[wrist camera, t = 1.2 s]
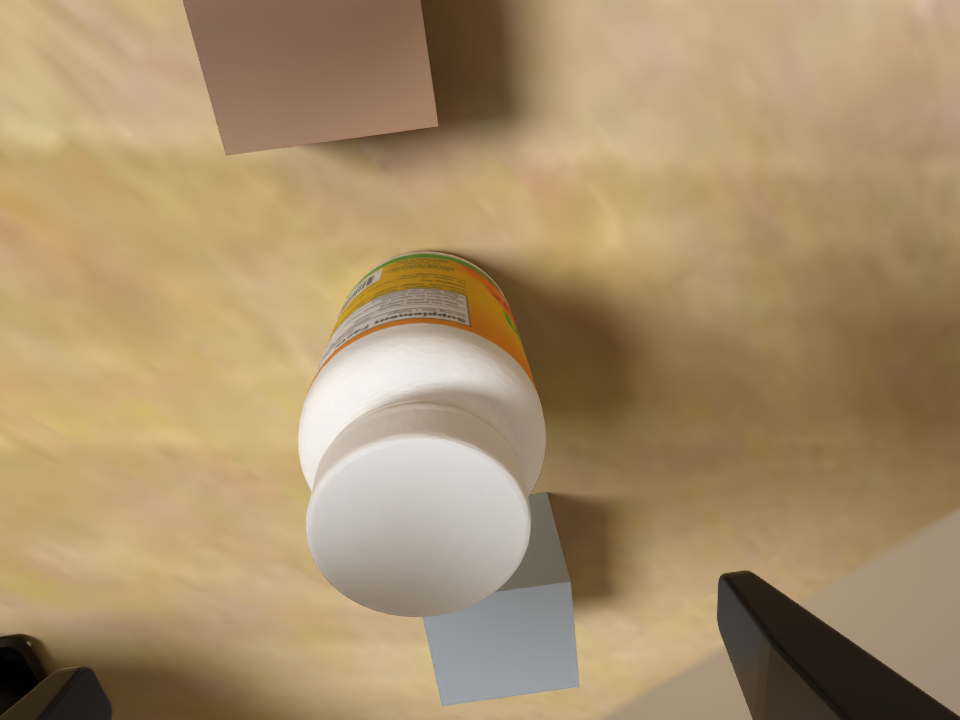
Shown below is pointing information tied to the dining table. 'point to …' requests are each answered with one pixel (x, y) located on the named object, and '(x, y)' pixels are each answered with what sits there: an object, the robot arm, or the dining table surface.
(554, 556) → the slate block
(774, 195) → the dining table surface
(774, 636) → the robot arm
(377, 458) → the supplement bottle
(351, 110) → the pinkish brown block
